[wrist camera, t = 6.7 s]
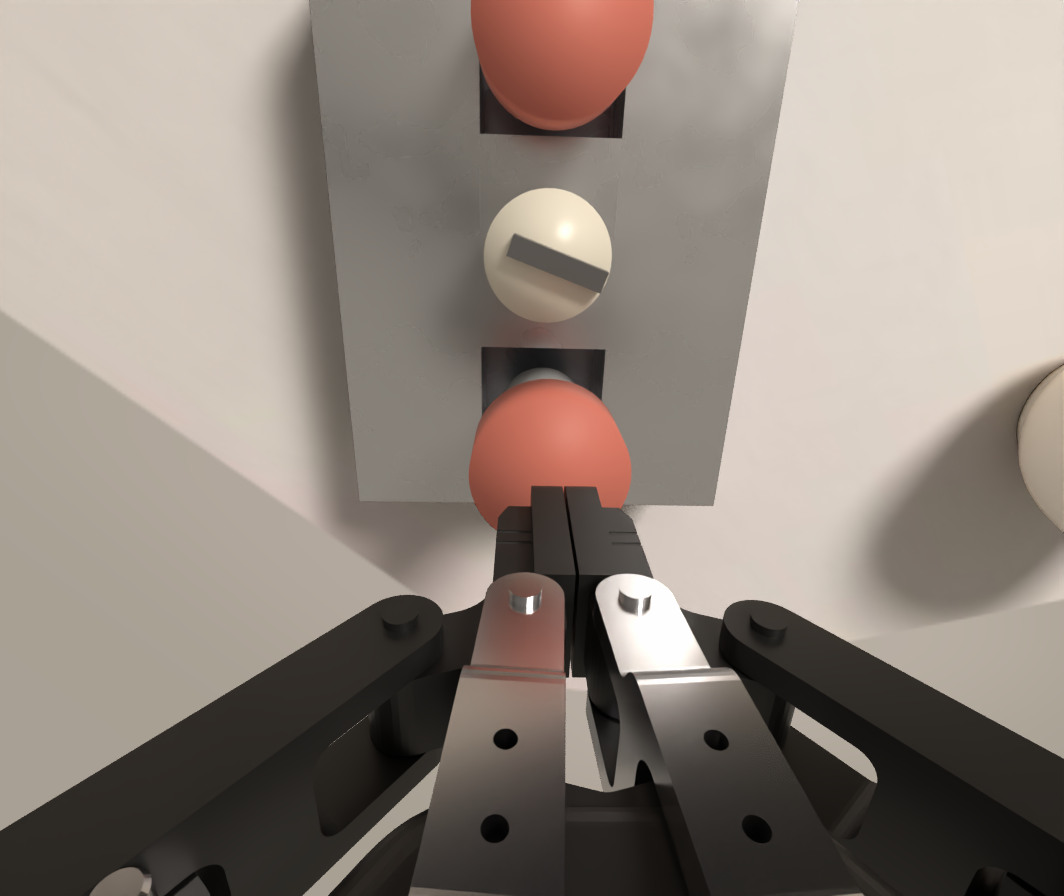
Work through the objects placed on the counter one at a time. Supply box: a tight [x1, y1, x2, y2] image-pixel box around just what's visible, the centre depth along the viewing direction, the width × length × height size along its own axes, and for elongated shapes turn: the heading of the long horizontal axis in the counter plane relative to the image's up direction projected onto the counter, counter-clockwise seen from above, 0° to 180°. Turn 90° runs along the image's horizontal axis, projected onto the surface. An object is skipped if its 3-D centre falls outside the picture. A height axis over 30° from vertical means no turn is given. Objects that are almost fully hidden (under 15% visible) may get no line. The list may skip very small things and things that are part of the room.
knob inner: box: [471, 0, 654, 131], centre depth 16 cm, size 4×4×6 cm
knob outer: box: [469, 368, 631, 530], centre depth 18 cm, size 4×4×6 cm
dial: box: [484, 188, 612, 323], centre depth 17 cm, size 4×4×4 cm
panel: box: [309, 0, 799, 506], centre depth 21 cm, size 14×19×5 cm
